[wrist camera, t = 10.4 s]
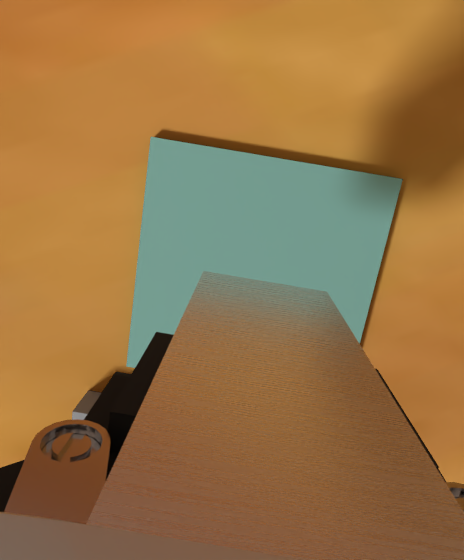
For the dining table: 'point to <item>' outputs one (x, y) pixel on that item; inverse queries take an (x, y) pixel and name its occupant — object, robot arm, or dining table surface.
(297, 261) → the mat
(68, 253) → the dining table surface
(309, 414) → the steel bar
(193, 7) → the dining table surface
